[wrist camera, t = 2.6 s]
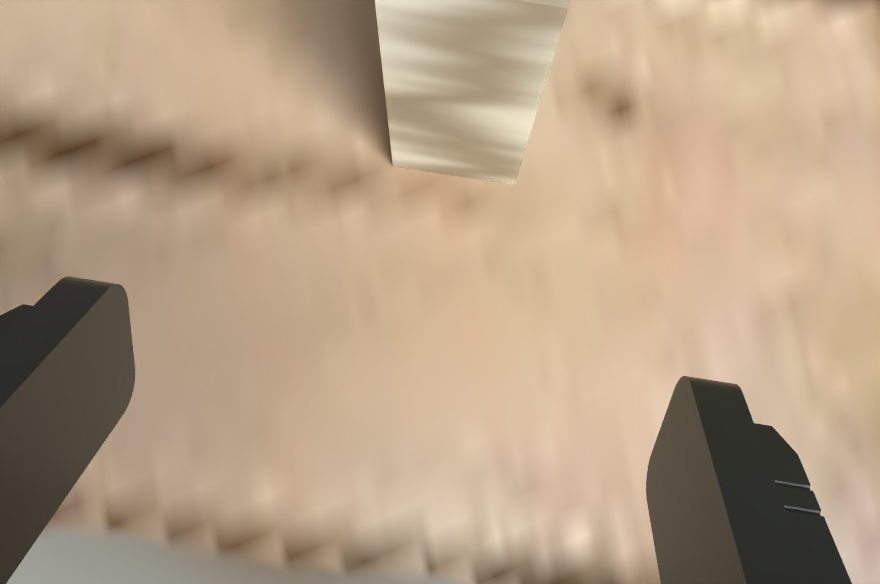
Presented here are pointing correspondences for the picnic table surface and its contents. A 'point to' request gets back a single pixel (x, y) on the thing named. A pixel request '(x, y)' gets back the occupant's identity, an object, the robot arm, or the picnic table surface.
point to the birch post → (465, 81)
